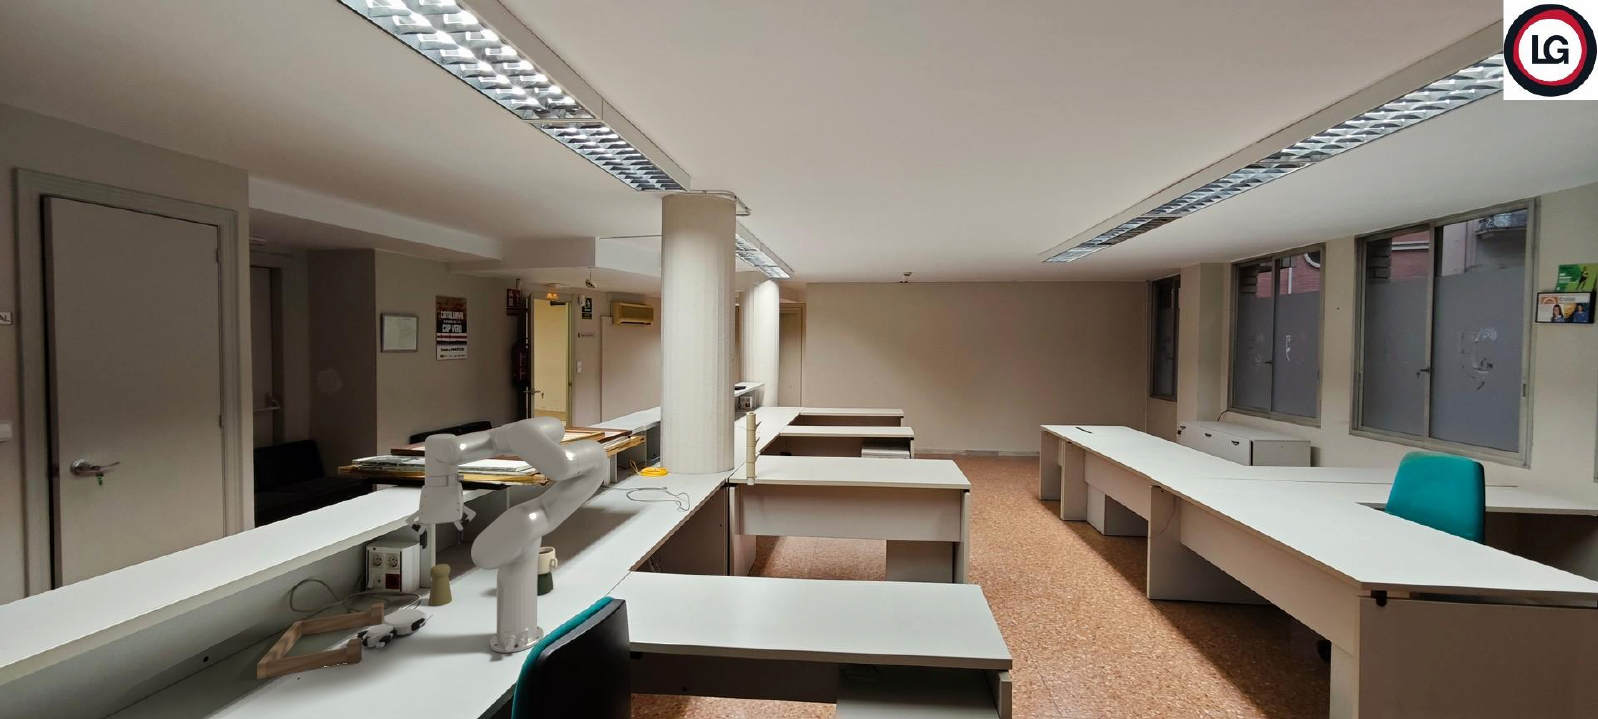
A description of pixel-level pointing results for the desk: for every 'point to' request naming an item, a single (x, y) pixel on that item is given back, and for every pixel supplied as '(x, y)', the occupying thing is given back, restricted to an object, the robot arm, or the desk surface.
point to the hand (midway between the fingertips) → (441, 545)
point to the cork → (440, 585)
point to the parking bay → (351, 654)
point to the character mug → (545, 569)
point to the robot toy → (393, 627)
